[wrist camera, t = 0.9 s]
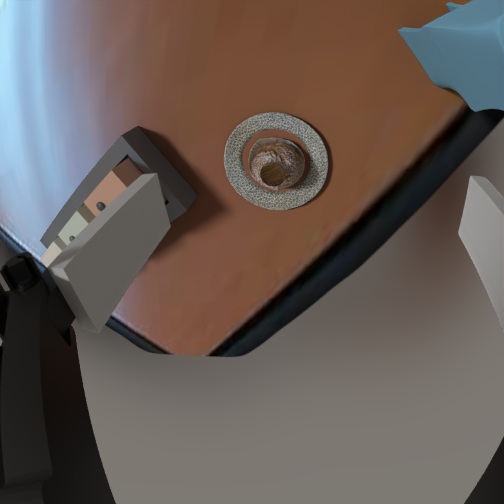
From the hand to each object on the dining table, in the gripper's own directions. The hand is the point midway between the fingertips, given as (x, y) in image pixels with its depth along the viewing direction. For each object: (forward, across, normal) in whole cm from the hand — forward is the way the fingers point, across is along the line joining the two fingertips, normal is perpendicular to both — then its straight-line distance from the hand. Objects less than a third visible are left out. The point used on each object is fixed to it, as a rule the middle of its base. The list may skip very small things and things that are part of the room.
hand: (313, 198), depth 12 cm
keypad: (+24, -30, -14) cm, 41 cm away
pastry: (+24, -5, -7) cm, 26 cm away
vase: (+24, +14, +7) cm, 29 cm away
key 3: (+20, -23, -9) cm, 32 cm away
